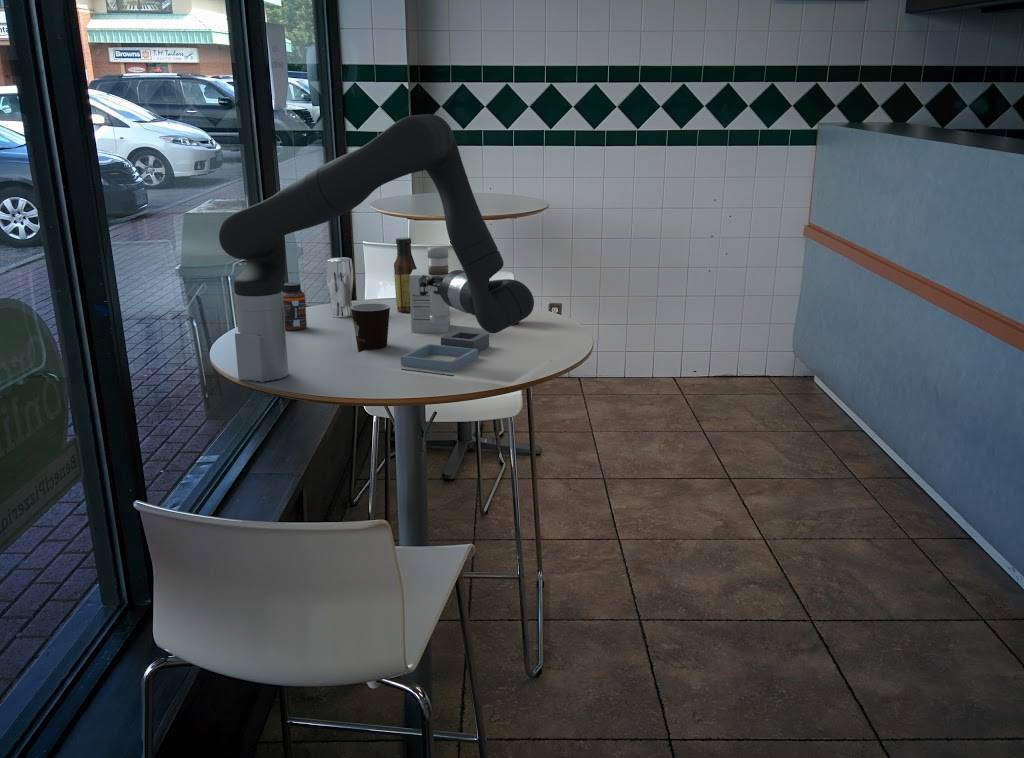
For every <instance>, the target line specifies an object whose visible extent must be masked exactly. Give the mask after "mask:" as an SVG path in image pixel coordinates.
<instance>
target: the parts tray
mask: <svg viewBox="0 0 1024 758" xmlns="http://www.w3.org/2000/svg"><path fill="white" fill-rule="evenodd" d="M429 355H438V356H446V357H456V358H454V359H452V360H451V361H450V360H443V359H436V358H425V357H426V356H429ZM477 359H479V352H478V349H471V348H462V347H453V346H444V345H441V344H431V343H427V344H425V345H423V346H421V347H418V348H416V349H414V350H412V351H410V352H408V353H406V354H403V355H401V356H400V366H402V367H408V368H419V369H427V370H428V369H429V370H432V371H434V370H435V371H440V372H441V371H442V372H450V373H453V372H455V371H457V370H459V369H461V368H463V367H464V366H466V365H468V364H469V363H471V362H472V363H473V362H474V361H475V360H477ZM400 370H401V371H406V372H413V373H414V372H416V373H422V374H430V375H436V376H437V375H438V376H439V375H440V376H447V377H454V376H455V374H448V373H440V372H439V373H438V372H431V371H423V370H415V369H407V368H401V369H400Z"/></svg>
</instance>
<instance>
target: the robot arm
mask: <svg viewBox="0 0 1024 758" xmlns="http://www.w3.org/2000/svg"><path fill="white" fill-rule="evenodd" d="M462 160H463V159H462V156H461V153H460V151H459V146H458V143H457V141H456V138H455V135H454V133H453V129H452V128H451V126H450V124H449V123H448V122H447V121H446V120H445V119H444V118H442V117H440V116H439V115H436V114H432V113H431V114H430V113H425V114H424V113H423V114H415V115H409V116H405V117H402V118H400V119H399V120H397V121H396V122H395V123H393V124H392V125H390V126H389V127H387V128H386V129H385V130H383V131H382V132H381V133H379V134H378V135H376V137H374V138H373V139H372V140H370V141H369V142H367V143H366V144H363V146H360V147H359V148H357V149H355V150H352V151H350V152H348V153H346V154H343V155H341V156H339V157H336V158H335V159H332V160H330V161H329V162H327V163H324V164H323V165H321V166H319V167H317V168H316V169H313V170H312V171H310V172H308V173H306V175H303V176H302V177H301V178H299V179H297V180H296V181H294V182H292V183H291V184H289V185H287V186H285V187H284V188H282V189H280V190H279V191H278V192H276V193H274V195H272V196H270V197H269V198H267V199H264V200H263V201H261V202H258V203H256V204H253V205H251V206H248V207H246V208H243V209H241V210H238V211H235V212H233V213H231V214H229V215H228V216H227V217H226V218H225V219H224V220H223V222H222V223H221V226H220V228H219V232H218V240H219V245H220V246H221V249H222V250H223V251H224V252H225V254H227V255H229V256H230V257H232V258H235V259H237V260H244V261H245V260H246V264H245V266H244V268H243V269H242V271H241V272H240V273H239V274H238V275H237V276H236V277H235V278H234V280H233V291H234V302H235V312H236V313H235V314H236V316H235V317H236V324H237V325H236V326H237V332H235V334H234V341H235V342H234V343H235V352H236V365H237V378H238V380H242V381H248V380H254V381H253V382H256V381H260V382H259V383H265V381H266V382H269V381H270V380H271V381H277V380H281V379H283V378H286V377H287V376H288V375H289V363H288V362H289V361H288V349H287V347H288V345H287V333H286V330H285V318H284V303H283V292H284V291H283V290H284V288H283V284H284V279H285V276H286V239H285V238H286V235H289V234H292V233H295V232H299V231H303V230H307V229H310V228H312V227H316V226H319V225H323V224H325V223H328V222H330V221H332V220H335V219H336V218H338V217H340V216H342V215H344V214H346V213H348V212H349V211H351V210H353V209H355V208H356V207H358V206H359V205H360V204H362V203H363V202H364V201H365V200H366V199H367V198H368V197H369V196H370V195H371V194H372V193H374V192H375V190H377V189H378V188H380V187H381V186H383V185H385V184H388V183H390V182H392V181H395V180H398V179H399V178H401V177H404V176H407V175H411V174H414V173H418V172H419V173H420V172H424V171H426V173H427V174H428V176H429V177H430V179H431V181H432V182H433V185H434V186H435V188H436V190H437V193H438V195H439V198H440V201H441V204H442V209H443V214H444V221H445V226H446V231H447V235H448V238H449V241H450V245H451V247H452V249H453V251H454V253H455V255H456V258H457V260H458V261H459V263H460V266H461V267H462V269H456V270H455V269H454V270H452V271H450V272H449V273H448V274H447V275H446V276H445V277H439V276H435V277H429V276H427V275H422V278H420V279H419V292H420V295H422V296H424V295H426V294H428V291H432V293H433V294H438V295H440V296H441V297H442V299H443V300H444V302H445V303H446V304H447V305H449V307H451V308H453V309H456V310H457V311H460V312H462V313H465V314H470V315H472V316H474V317H475V319H476V320H477V321H476V322H477V323H478V324H479V326H480V327H481V328H482V329H483V330H484V331H486V333H488V334H497V333H500V332H502V331H503V330H506V329H507V328H510V327H511V326H513V325H516V324H515V323H517V322H519V323H520V321H522V320H525V319H526V318H528V317H529V316H530V315H531V313H533V310H534V307H535V299H534V296H533V293H532V291H531V289H529V288H528V286H527V285H525V284H524V283H523V282H522V281H519V280H516V279H509V278H508V279H505V278H504V279H494V280H490V279H491V278H493V277H494V275H496V274H497V273H498V272H499V271H501V270H502V269H503V267H504V259H503V256H502V254H501V252H500V251H499V249H498V246H497V243H496V242H495V240H494V238H493V236H492V233H491V232H490V229H489V228H488V226H487V224H486V221H485V220H484V217H483V216H482V213H481V210H480V208H479V206H478V202H477V200H476V199H475V196H474V193H473V190H472V188H471V184H470V183H469V182H470V181H469V178H468V175H467V173H466V170H465V166H464V164H463V161H462ZM243 379H244V380H243ZM276 379H277V380H276ZM271 381H270V382H271Z"/></svg>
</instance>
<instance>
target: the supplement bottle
mask: <svg viewBox="0 0 1024 758" xmlns="http://www.w3.org/2000/svg"><path fill="white" fill-rule="evenodd" d="M301 286H302V285H301V283H300V282H286V283H283V290H284V291H283V303H284V318H285V331H301V329H302V330H305V329H306V328H307V325H308V324H307V310H306V309H307V307H306V305H307V304H306V294H305V292H304V291H302V287H301ZM304 328H305V329H304Z"/></svg>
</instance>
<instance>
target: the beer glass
mask: <svg viewBox="0 0 1024 758" xmlns="http://www.w3.org/2000/svg"><path fill="white" fill-rule="evenodd" d="M325 261H326V265H325V266H326V268H325V270H326V272H325V273H326V284H327V288H328V293H329V296H330V303H331V306H330V317H332V318H338V317H343V318H349V316H350V317H352V312H351V307H352V306H353V305H352V296H353V295H352V294H353V287H354V269H353V268H354V267H353V261H352V258H350V257H339V256H338V257H330V258H327V259H326V260H325Z"/></svg>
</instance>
